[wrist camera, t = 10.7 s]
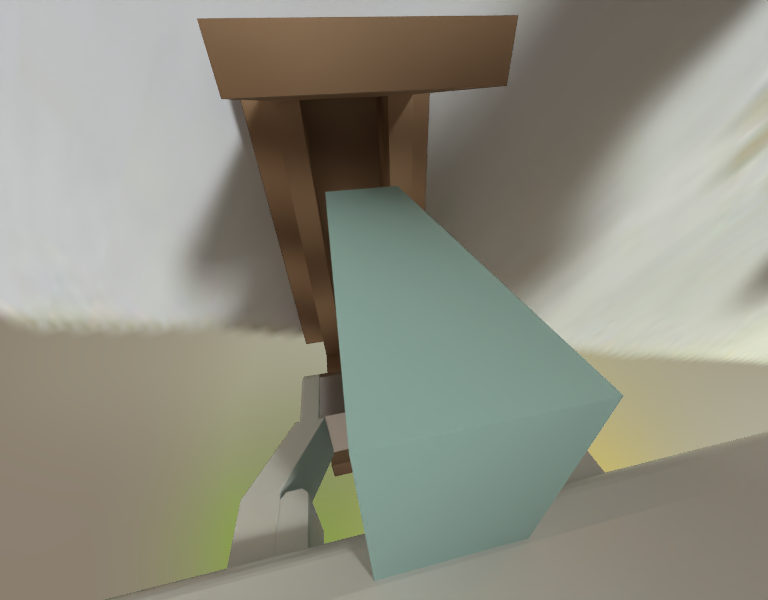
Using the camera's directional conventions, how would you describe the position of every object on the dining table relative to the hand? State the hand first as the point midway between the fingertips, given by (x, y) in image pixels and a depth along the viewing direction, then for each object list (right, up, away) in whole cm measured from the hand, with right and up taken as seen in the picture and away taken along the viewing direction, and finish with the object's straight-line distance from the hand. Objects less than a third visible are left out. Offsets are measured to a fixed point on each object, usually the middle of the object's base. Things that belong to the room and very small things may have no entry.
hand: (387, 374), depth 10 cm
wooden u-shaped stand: (-2, +8, +11) cm, 13 cm away
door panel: (-1, +2, +3) cm, 4 cm away
